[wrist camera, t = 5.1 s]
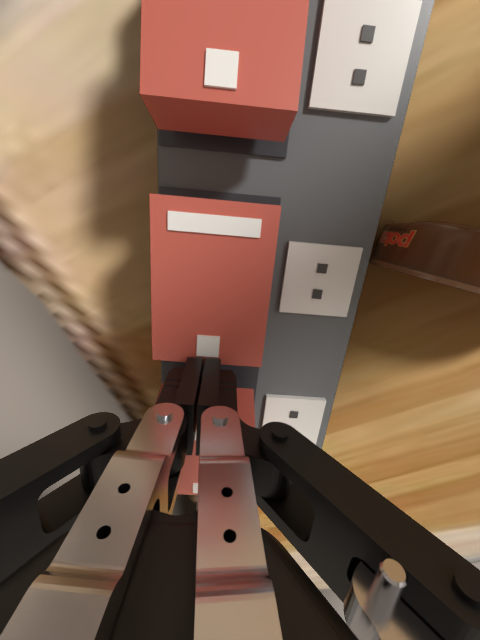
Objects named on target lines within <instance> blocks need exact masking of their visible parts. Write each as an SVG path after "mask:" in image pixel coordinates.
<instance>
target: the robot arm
mask: <svg viewBox="0 0 480 640" xmlns="http://www.w3.org/2000/svg"><path fill="white" fill-rule="evenodd" d="M220 368H221V359H214V358H206V359H205V365H204V371H203V358H198V357H187V360H186V363H185V367H174V368H173V369H172V370H170V371H169V372H168V374H167V376H166V379H165V382H164V384H163V387H162V389H161V392H160V395H159V397H158V400H157V403H156V405H154V406H152V407H150V408H149V409H148V410H147V411H146V413H145V414H144V416H143V418H142V419H139V420H135V421H131V422H125V423H120V419H119V418H118V417H117V416H116V415H115V414H113V413H108V412H100V413H95V414H91V415H89V416H87V417H85V418H82V419H80V420H78V421H76V422H74V423H72V424H70V425H68V426H66V427H64V428H63V429H60V430H58V431H56V432H54V433H52V434H50V435H48V436H46V437H44V438H42V439H40V440H38V441H36V442H34V443H32V444H30V445H28V446H26V447H24V448H22V449H20V450H18V451H16V452H14V453H12V454H10V455H8V456H6V457H4V458H2V459H0V640H480V570H479V569H477V568H476V567H475V566H474V565H472V564H471V563H470V562H468V561H467V560H466V559H464V558H463V557H462V556H460V555H459V554H458V553H457V552H455V551H454V550H453V549H451V548H450V547H449V546H447V545H446V544H445V543H443V542H442V541H441V540H440V539H438V538H437V537H436V536H434V535H433V534H432V533H430V532H429V531H428V530H427V529H425V528H424V527H423V526H421V525H420V524H419V523H417V522H416V521H415V520H413V519H412V518H411V517H410V516H408V515H407V514H406V513H404V512H403V511H402V510H400V509H399V508H398V507H396V506H395V505H394V504H393V503H391V502H390V501H389V500H387V499H386V498H385V497H383V496H382V495H381V494H379V493H378V492H377V491H376V490H374V489H373V488H372V487H370V486H369V485H368V484H366V483H365V482H364V481H362V480H361V479H360V478H359V477H357V476H356V475H355V474H353V473H352V472H351V471H349V470H348V469H347V468H345V467H344V466H343V465H342V464H340V463H339V462H338V461H336V460H335V459H334V458H332V457H331V456H330V455H328V454H327V453H326V452H325V451H323V450H322V449H321V448H319V447H318V446H317V445H315V444H314V443H313V442H311V441H310V440H309V439H308V438H306V437H305V436H304V435H302V434H301V433H300V432H298V431H297V430H296V429H294V428H293V427H292V426H290V425H288V424H286V423H282V422H269V423H267V424H265V425H263V426H262V428H261V429H258V428H255V427H252V426H249V425H247V424H246V423H244V422H243V421H242V420H241V419H240V417H239V415H238V412H237V381H236V375H235V374H234V373H233V371H232V370H221V369H220ZM196 428H197V433H196ZM195 434H196V456H199V471H198V496H197V512H193V513H188V514H184V515H179V516H174V515H171V514H172V511H173V507H174V503H175V500H176V495H177V492H178V488H179V485H180V481H181V477H182V473H183V465H184V463H185V457H186V455H192V453H193V447H194V440H195ZM78 468H80V474H79V475H78V476H76V477H75V478H73V479H71V480H70V481H68V482H67V483H65V484H63V485H62V486H60V487H59V488H57V489H56V490H54V491H52V492H51V493H49V494H48V495H46V496H45V497H43V498H41V499H40V500H38V498H39V496H40V495H41V493H42V492H43V491H44V490H45V489H46V488H48V487H49V486H51V485H53V484H54V483H56V482H57V481H59V480H60V479H62V478H64V477H65V476H67V475H69V474H70V473H72V472H73V471H75V470H77V469H78ZM37 500H38V501H37ZM257 505H258V506H259V507H260V509H261V510H262V511H263V512H264V513H265V514H266V515H267V517H268V518H269V519H270V520H271V521H272V522H273V523H274V525H275V526H276V527H277V528H278V529H279V530H280V531H281V532H282V534H283V535H284V536H285V537H286V538H287V539H288V540H289V542H290V543H291V544H292V545H293V546H294V547H295V548H296V550H297V551H298V552H299V553H300V554H301V555H302V556H303V557H304V559H305V560H306V561H307V562H308V563H309V564H310V565H311V567H312V568H313V569H314V570H315V571H316V572H317V573H318V575H319V576H320V577H321V578H322V579H323V580H324V581H325V582H326V584H327V585H328V586H329V587H330V588H331V589H332V590H333V592H334V593H335V594H336V595H337V596H338V597H339V598H340V599H341V600H342V602H343V603H344V616H345V620H346V623H347V624H346V623H345V622H344V621H343V619H342V618H341V617H340V616H339V614H338V613H337V612H336V611H335V609H334V608H333V607H332V606H331V605H330V603H329V602H328V601H327V600H326V598H325V597H324V596H323V595H322V593H321V592H320V591H319V590H318V588H317V587H316V586H315V585H314V583H313V582H312V581H311V580H310V578H309V577H308V576H307V575H306V574H305V572H304V571H303V570H302V569H301V567H300V566H299V565H298V564H297V562H296V561H295V560H294V559H293V557H292V556H291V555H290V554H289V553H288V551H287V550H286V549H285V548H284V547H283V545H282V544H281V543H280V542H279V541H278V540H277V539H276V538H275V537H274V536H272V535H271V534H270V533H269V532H267V531H266V530H264V529H262V528H261V527H260V521H259V515H258V509H257Z"/></svg>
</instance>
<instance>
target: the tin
mask: <svg viewBox="0 0 480 640" xmlns="http://www.w3.org/2000/svg"><path fill="white" fill-rule="evenodd" d="M369 263H372V264H374V265H377V266H381V267H385V268H388V269H392V270H396V271H400V272H403V273H406V274H410V275H413V276H417V277H420V278H423V279H427V280H430V281H434V282H438V283H441V284H445V285H448V286H452V287H456V288H459V289H463V290H466V291H470V292H473V293H477V294H480V228H478V227H472V226H466V225H460V224H453V223H446V222H434V221H423V222H416V223H395V222H388V223H387V224H386V225H385V227H384V229H383V231H382V233H381V235H380V238H379V240H378V243H377V245H376V248H375V251H374V253H373V255H372V257H371V258H370V259H369Z"/></svg>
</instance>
